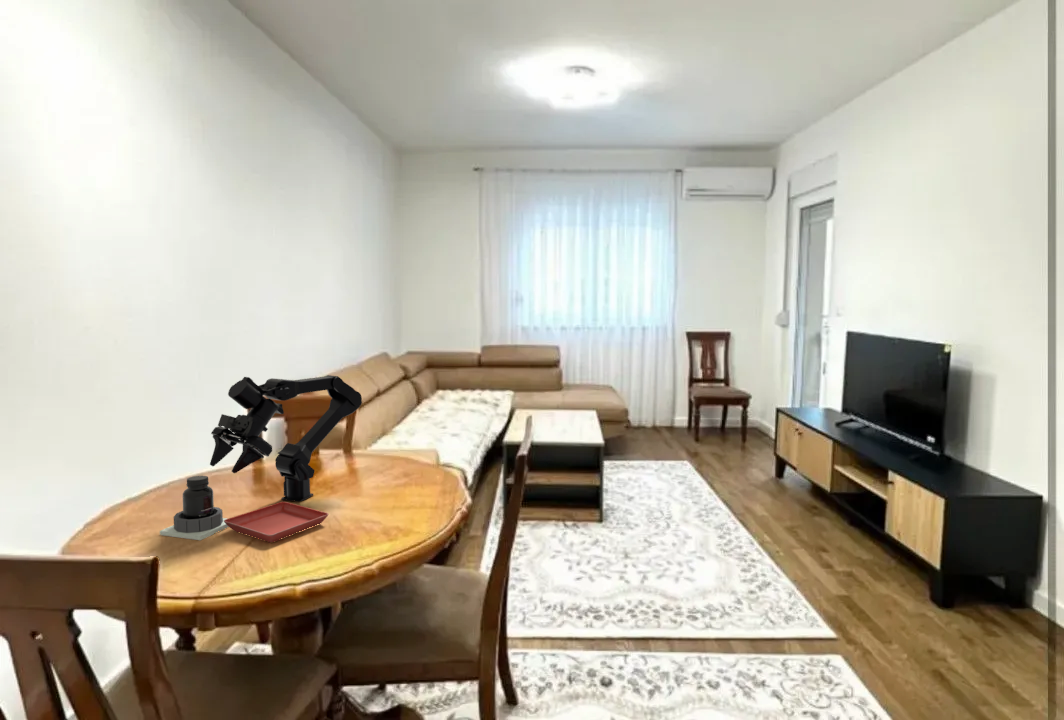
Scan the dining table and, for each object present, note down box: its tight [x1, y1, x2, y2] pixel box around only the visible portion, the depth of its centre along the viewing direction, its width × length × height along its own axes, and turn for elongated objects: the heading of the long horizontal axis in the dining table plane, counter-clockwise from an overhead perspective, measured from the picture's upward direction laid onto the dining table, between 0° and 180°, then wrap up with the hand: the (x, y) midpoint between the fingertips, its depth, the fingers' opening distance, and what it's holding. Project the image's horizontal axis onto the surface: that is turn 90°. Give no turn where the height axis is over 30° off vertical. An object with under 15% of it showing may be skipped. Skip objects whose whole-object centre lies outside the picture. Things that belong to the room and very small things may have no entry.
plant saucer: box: [224, 501, 329, 543], centre depth 163 cm, size 18×18×3 cm
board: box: [159, 517, 230, 541], centre depth 162 cm, size 12×12×1 cm
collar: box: [173, 506, 224, 533], centre depth 161 cm, size 10×10×3 cm
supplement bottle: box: [182, 475, 215, 520], centre depth 161 cm, size 7×7×12 cm
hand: (222, 468), depth 167 cm, fingers open, 9 cm apart
